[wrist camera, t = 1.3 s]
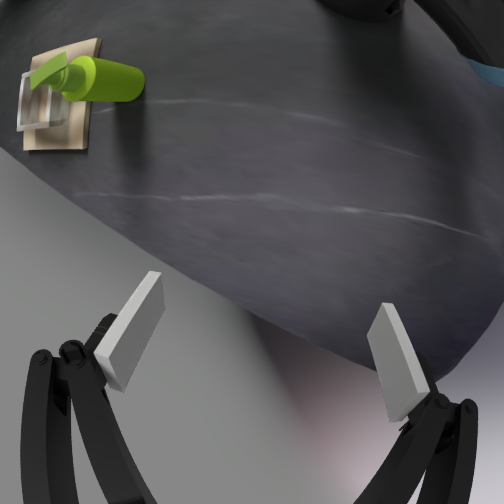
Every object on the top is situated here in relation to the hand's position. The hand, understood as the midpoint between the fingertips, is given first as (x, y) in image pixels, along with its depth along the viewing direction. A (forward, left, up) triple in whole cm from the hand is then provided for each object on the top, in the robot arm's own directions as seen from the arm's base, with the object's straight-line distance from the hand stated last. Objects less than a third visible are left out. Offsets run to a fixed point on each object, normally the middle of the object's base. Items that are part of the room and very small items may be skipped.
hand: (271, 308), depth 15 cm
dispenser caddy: (-13, -42, -27) cm, 51 cm away
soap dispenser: (-14, -25, -27) cm, 39 cm away
